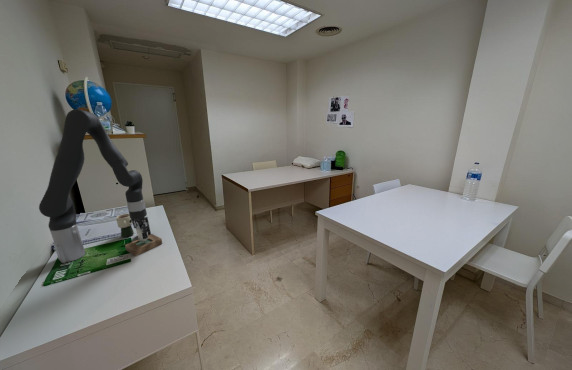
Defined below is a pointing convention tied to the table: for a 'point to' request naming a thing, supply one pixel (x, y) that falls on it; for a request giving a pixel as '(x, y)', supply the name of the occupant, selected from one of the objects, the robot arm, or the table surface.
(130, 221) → the character mug
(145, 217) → the phone stand
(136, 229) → the white rounded cylinder
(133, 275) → the table surface
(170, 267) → the table surface
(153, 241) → the wooden frame
